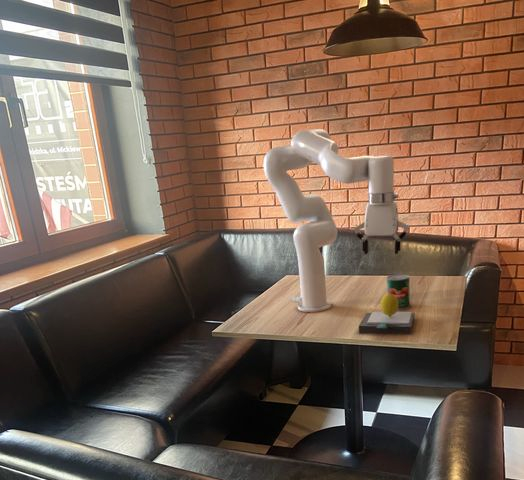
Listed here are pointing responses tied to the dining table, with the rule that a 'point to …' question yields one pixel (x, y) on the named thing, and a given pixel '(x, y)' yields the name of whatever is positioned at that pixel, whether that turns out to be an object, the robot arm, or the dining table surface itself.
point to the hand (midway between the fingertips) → (381, 253)
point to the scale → (387, 323)
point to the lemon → (389, 304)
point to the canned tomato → (399, 289)
